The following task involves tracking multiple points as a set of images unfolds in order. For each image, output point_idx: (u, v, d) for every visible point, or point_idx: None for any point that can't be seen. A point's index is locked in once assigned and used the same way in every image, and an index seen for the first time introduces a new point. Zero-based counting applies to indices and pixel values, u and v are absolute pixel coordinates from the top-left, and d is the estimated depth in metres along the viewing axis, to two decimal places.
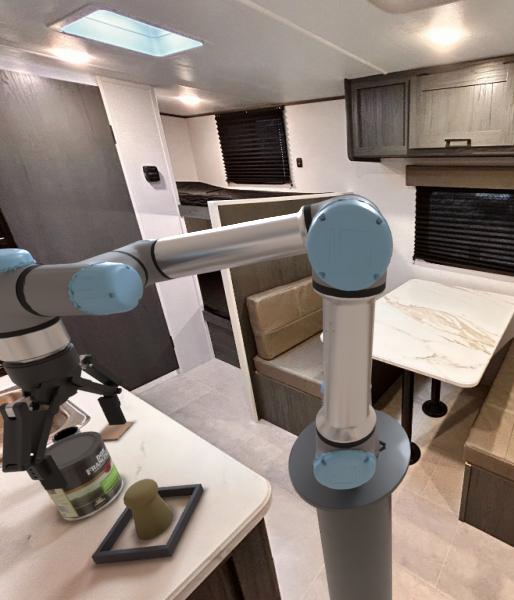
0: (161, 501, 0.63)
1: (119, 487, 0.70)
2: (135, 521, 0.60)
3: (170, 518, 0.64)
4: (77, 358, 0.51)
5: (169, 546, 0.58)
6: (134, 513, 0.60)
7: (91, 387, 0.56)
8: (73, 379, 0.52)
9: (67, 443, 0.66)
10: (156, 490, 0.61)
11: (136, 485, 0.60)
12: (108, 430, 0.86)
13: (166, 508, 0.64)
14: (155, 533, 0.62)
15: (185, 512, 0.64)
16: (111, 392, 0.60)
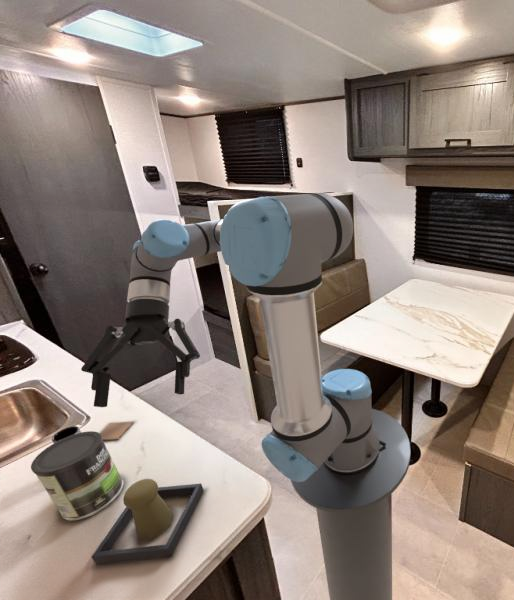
0: (161, 501, 0.63)
1: (119, 487, 0.70)
2: (135, 521, 0.60)
3: (170, 518, 0.64)
4: (148, 308, 0.67)
5: (169, 546, 0.58)
6: (134, 513, 0.60)
7: (163, 342, 0.67)
8: (147, 326, 0.67)
9: (67, 443, 0.66)
10: (156, 490, 0.61)
11: (136, 485, 0.60)
12: (108, 430, 0.86)
13: (166, 508, 0.64)
14: (155, 533, 0.62)
15: (185, 512, 0.64)
16: (179, 357, 0.67)
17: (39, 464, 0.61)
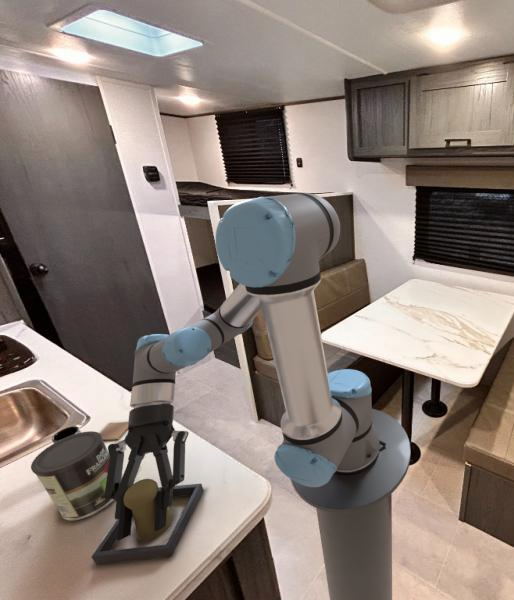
0: None
1: None
2: (135, 521, 0.60)
3: (170, 518, 0.64)
4: (151, 416, 0.64)
5: (169, 546, 0.58)
6: (134, 513, 0.60)
7: (156, 459, 0.63)
8: (150, 436, 0.64)
9: (67, 443, 0.66)
10: (156, 490, 0.61)
11: (136, 485, 0.60)
12: (108, 430, 0.86)
13: None
14: (155, 533, 0.62)
15: (185, 512, 0.64)
16: (162, 483, 0.62)
17: (39, 464, 0.61)
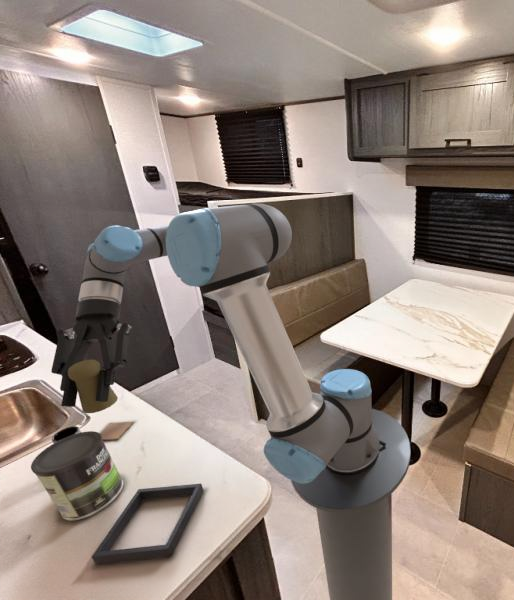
0: None
1: (119, 487, 0.70)
2: (79, 394, 0.68)
3: (113, 399, 0.72)
4: (97, 307, 0.71)
5: (169, 546, 0.58)
6: (78, 386, 0.67)
7: (101, 344, 0.71)
8: (96, 325, 0.71)
9: (67, 443, 0.66)
10: (99, 368, 0.69)
11: (80, 362, 0.68)
12: (108, 430, 0.86)
13: (110, 389, 0.71)
14: (98, 407, 0.69)
15: (185, 512, 0.64)
16: (104, 363, 0.70)
17: (39, 464, 0.61)
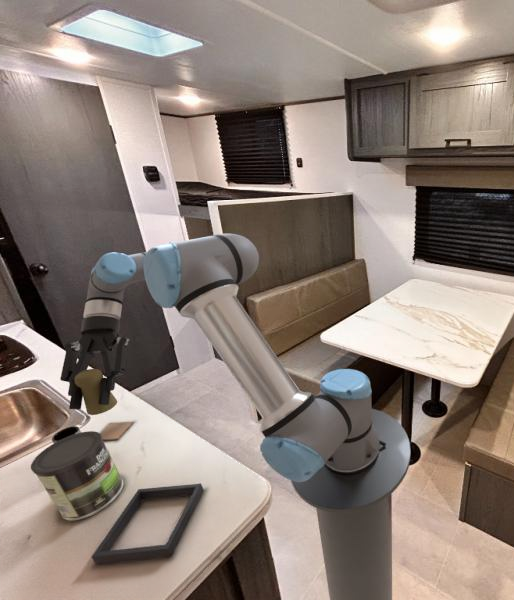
0: None
1: (119, 487, 0.70)
2: (84, 399, 0.79)
3: (113, 402, 0.83)
4: (99, 323, 0.83)
5: (169, 546, 0.58)
6: (83, 391, 0.78)
7: (103, 355, 0.82)
8: (98, 338, 0.83)
9: (67, 443, 0.66)
10: (101, 376, 0.80)
11: (85, 371, 0.79)
12: (108, 430, 0.86)
13: (110, 394, 0.83)
14: (100, 410, 0.80)
15: (185, 512, 0.64)
16: (106, 372, 0.81)
17: (39, 464, 0.61)
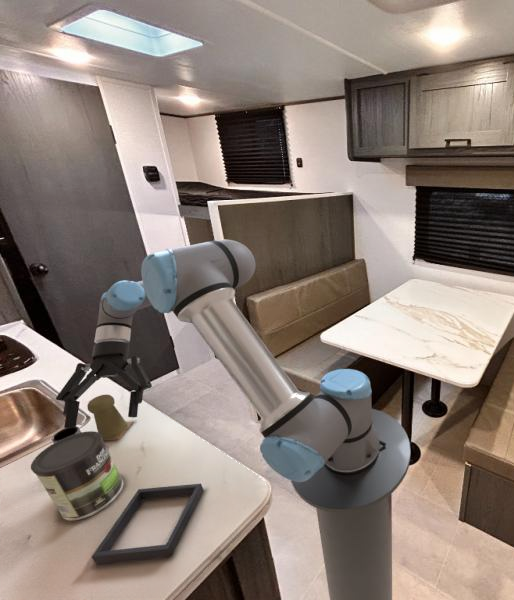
0: (117, 412, 0.85)
1: (119, 487, 0.70)
2: (96, 424, 0.82)
3: (124, 426, 0.86)
4: (110, 349, 0.86)
5: (169, 546, 0.58)
6: (95, 417, 0.82)
7: (121, 376, 0.86)
8: (109, 363, 0.86)
9: (67, 443, 0.66)
10: (112, 402, 0.83)
11: (97, 397, 0.82)
12: None
13: (121, 418, 0.86)
14: (112, 434, 0.84)
15: (185, 512, 0.64)
16: (133, 387, 0.85)
17: (39, 464, 0.61)
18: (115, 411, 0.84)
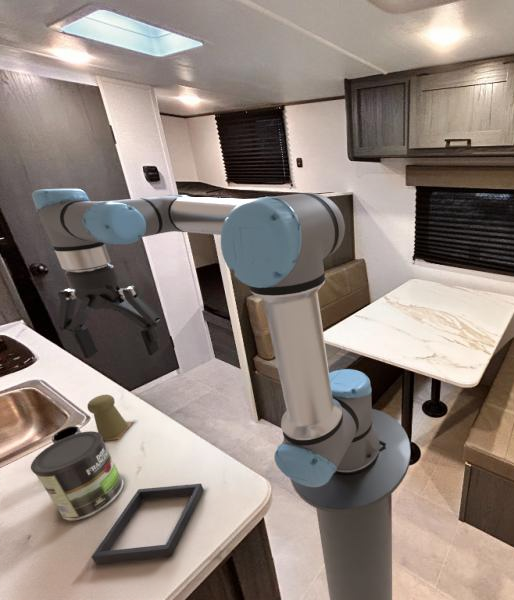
0: (117, 412, 0.85)
1: (119, 487, 0.70)
2: (96, 424, 0.82)
3: (124, 426, 0.86)
4: (88, 284, 0.63)
5: (169, 546, 0.58)
6: (95, 417, 0.82)
7: (121, 312, 0.69)
8: (97, 297, 0.66)
9: (67, 443, 0.66)
10: (112, 402, 0.83)
11: (97, 397, 0.82)
12: None
13: (121, 418, 0.86)
14: (112, 434, 0.84)
15: (185, 512, 0.64)
16: (141, 326, 0.70)
17: (39, 464, 0.61)
18: (115, 411, 0.84)
